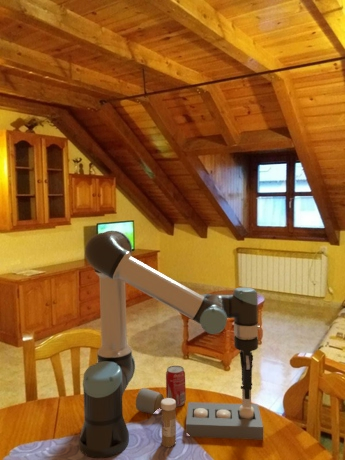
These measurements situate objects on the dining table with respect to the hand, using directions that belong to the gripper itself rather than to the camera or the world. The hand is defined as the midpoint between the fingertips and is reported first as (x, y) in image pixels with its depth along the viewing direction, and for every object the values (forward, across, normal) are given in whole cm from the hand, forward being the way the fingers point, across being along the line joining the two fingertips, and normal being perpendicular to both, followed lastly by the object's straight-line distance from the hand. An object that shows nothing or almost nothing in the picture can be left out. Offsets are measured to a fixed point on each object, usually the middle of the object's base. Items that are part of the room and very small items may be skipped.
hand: (246, 406), depth 129 cm
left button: (+5, 0, +15) cm, 16 cm away
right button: (+4, 0, 0) cm, 4 cm away
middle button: (+6, 0, +8) cm, 9 cm away
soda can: (+7, +14, +25) cm, 29 cm away
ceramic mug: (+7, +9, +33) cm, 35 cm away
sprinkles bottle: (+7, -11, +25) cm, 28 cm away
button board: (+7, 0, +8) cm, 10 cm away
